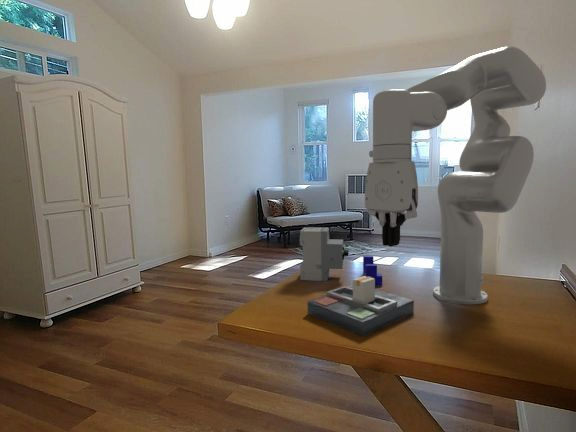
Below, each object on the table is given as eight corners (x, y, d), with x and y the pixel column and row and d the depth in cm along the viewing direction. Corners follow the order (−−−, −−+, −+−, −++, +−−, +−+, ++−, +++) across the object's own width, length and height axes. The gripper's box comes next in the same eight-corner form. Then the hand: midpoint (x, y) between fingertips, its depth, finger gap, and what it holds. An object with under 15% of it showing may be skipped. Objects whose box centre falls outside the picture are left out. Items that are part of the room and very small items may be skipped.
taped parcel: (364, 296, 85) (364, 275, 84) (374, 300, 82) (375, 278, 82) (352, 301, 82) (352, 279, 81) (363, 304, 80) (363, 281, 79)
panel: (358, 295, 95) (358, 280, 95) (413, 312, 83) (413, 295, 82) (307, 313, 84) (307, 297, 83) (363, 336, 71) (363, 317, 71)
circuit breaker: (347, 281, 108) (347, 231, 106) (300, 279, 110) (299, 231, 109) (348, 274, 115) (348, 227, 113) (304, 273, 118) (303, 227, 116)
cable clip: (382, 286, 103) (382, 265, 102) (366, 286, 104) (366, 265, 103) (377, 274, 115) (377, 255, 114) (363, 274, 116) (363, 255, 115)
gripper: (350, 156, 76) (350, 242, 79) (415, 152, 65) (414, 253, 67) (372, 157, 81) (372, 238, 83) (437, 153, 70) (434, 247, 72)
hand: (390, 244), depth 75 cm, fingers closed
